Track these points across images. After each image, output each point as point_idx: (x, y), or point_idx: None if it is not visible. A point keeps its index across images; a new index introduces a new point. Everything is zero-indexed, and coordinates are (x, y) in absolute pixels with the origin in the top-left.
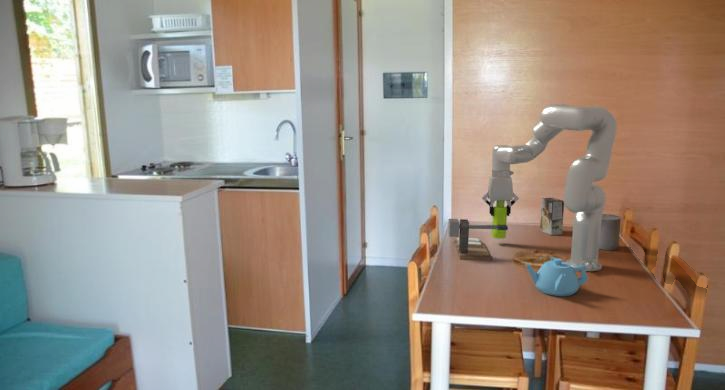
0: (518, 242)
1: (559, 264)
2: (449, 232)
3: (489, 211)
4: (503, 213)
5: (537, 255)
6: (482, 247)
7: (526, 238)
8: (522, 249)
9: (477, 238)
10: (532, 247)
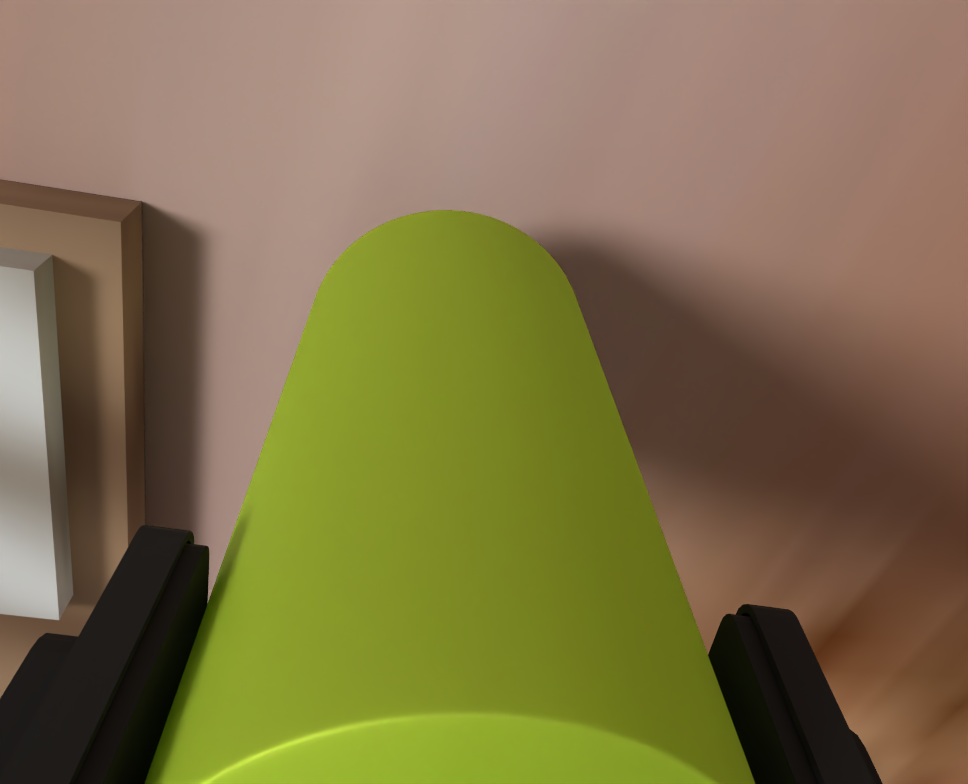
0: (859, 210)
1: None
2: None
3: (16, 675)
4: None
5: None
6: (85, 620)
7: None
8: (699, 559)
9: (21, 289)
10: (899, 488)
